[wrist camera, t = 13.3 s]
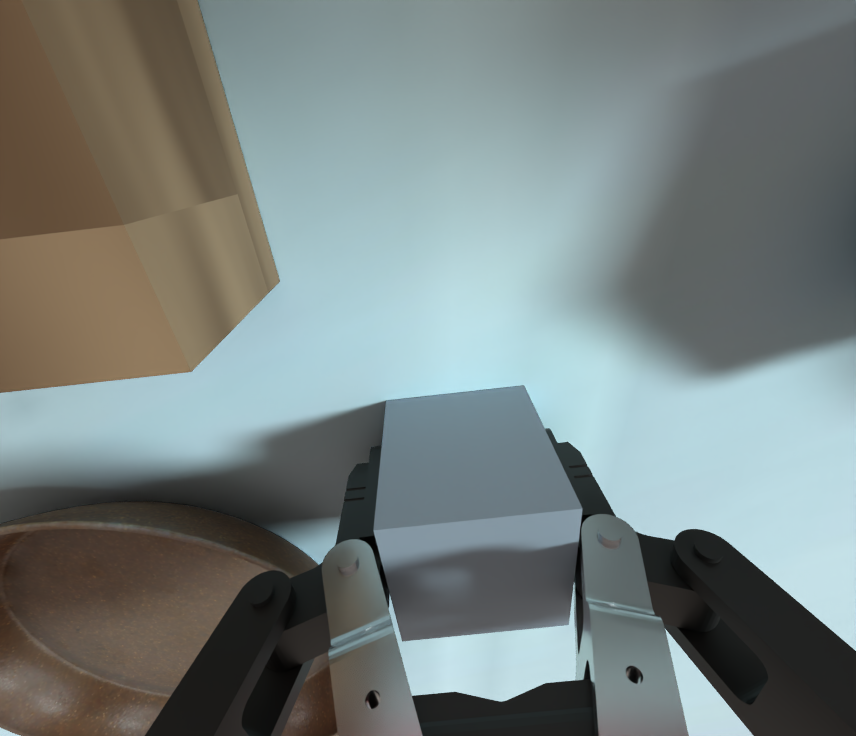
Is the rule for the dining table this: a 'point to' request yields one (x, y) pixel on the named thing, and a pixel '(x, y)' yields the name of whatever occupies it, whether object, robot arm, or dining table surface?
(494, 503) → the slate block
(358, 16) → the dining table surface
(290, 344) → the dining table surface
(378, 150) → the dining table surface
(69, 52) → the bore block
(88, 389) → the dining table surface
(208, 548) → the plant saucer
